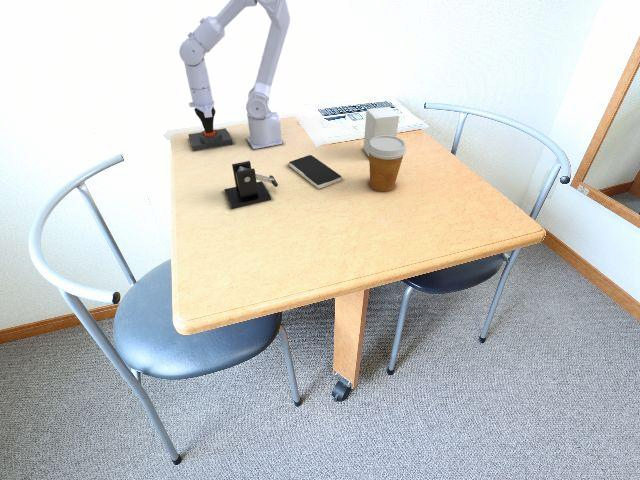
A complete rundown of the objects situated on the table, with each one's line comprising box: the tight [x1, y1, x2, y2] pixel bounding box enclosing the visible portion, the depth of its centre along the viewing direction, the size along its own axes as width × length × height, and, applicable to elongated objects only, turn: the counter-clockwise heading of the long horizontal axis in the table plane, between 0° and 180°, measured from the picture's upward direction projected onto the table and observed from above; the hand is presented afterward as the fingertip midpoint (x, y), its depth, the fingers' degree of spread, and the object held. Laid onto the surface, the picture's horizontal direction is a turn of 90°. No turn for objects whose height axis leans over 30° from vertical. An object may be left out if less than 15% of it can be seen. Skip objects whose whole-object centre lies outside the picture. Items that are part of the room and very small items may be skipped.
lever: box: [237, 166, 279, 188], centre depth 91 cm, size 10×4×2 cm, turn 113°
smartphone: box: [288, 154, 342, 189], centre depth 102 cm, size 8×1×15 cm
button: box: [203, 129, 216, 137], centre depth 113 cm, size 4×4×2 cm
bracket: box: [223, 160, 272, 210], centre depth 91 cm, size 10×8×8 cm
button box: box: [187, 127, 233, 152], centre depth 115 cm, size 12×10×4 cm
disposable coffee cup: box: [367, 135, 407, 192], centre depth 93 cm, size 10×10×12 cm
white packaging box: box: [363, 106, 400, 157], centre depth 106 cm, size 7×7×13 cm
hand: (209, 132), depth 113 cm, fingers closed, pressing on button
